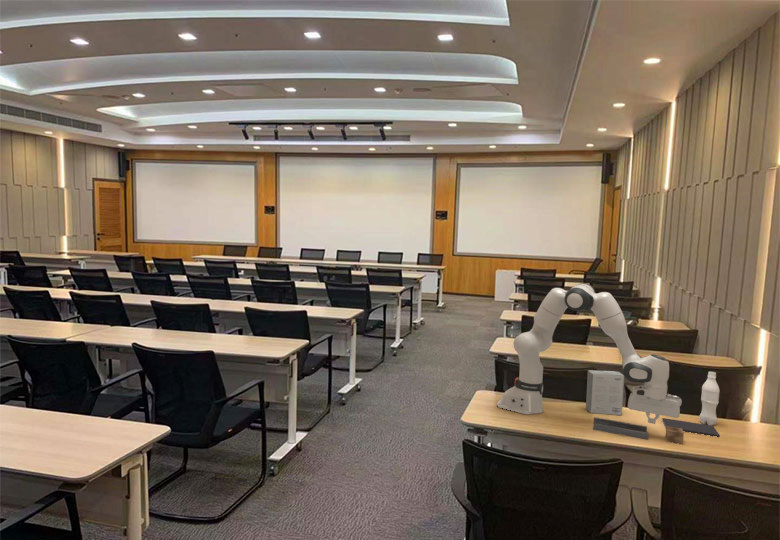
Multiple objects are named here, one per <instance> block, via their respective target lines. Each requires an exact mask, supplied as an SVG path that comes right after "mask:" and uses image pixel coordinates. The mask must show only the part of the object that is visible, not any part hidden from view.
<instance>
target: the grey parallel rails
mask: <svg viewBox="0 0 780 540" xmlns="http://www.w3.org/2000/svg"><path fill="white" fill-rule="evenodd" d="M592 430H593V431H599V432H604V433H610V434H616V435H620V436H626V437H631V438H637V439H642V440H648V441H649V432H648V427H647V426H646V425H640V424H635V423H629V422H623V421H618V420H612V419H607V418H601V417H595V416H594V417H593V425H592Z"/></svg>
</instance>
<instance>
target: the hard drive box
mask: <svg viewBox="0 0 780 540" xmlns="http://www.w3.org/2000/svg"><path fill="white" fill-rule="evenodd" d="M624 384H625V376H624V374H623V373H621V371H611V370H593V369H592V370H590V369H589V370H587V384H586V401H585V409H586V410H587V411H588V412H589V413H590V414H599V415H612V416H622V415H623V401H624Z"/></svg>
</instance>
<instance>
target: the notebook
mask: <svg viewBox="0 0 780 540" xmlns="http://www.w3.org/2000/svg"><path fill="white" fill-rule="evenodd" d="M661 421H662V423H663V425H664V427H665V428H666V426H669V427H675V428H681V429H682V430H683V431H685V432H684V433H689V432H691V433H690V434H695V433H697V435H701V434H704V435H703V436H707V435H710V436H709V437H713V436H717V437H716V438H719V437H720V434H719V432H718V431H717V430H716V429H717V428H715V425H708V424H706V423H705V424H703V423H699V422H697V423H696V422H692V421H686V420H685V421H684V420H679V419H674V418H672V419H671V418H665V417H662V420H661Z"/></svg>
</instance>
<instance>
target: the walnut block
mask: <svg viewBox="0 0 780 540" xmlns="http://www.w3.org/2000/svg"><path fill="white" fill-rule="evenodd" d="M684 436H685V432H683V430H682V429H681V428H675V427H669V426H666V427H665V440H667V441H666V443H672V442H673V444H677V443H679V444H678V445H684V438H685V437H684Z"/></svg>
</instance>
